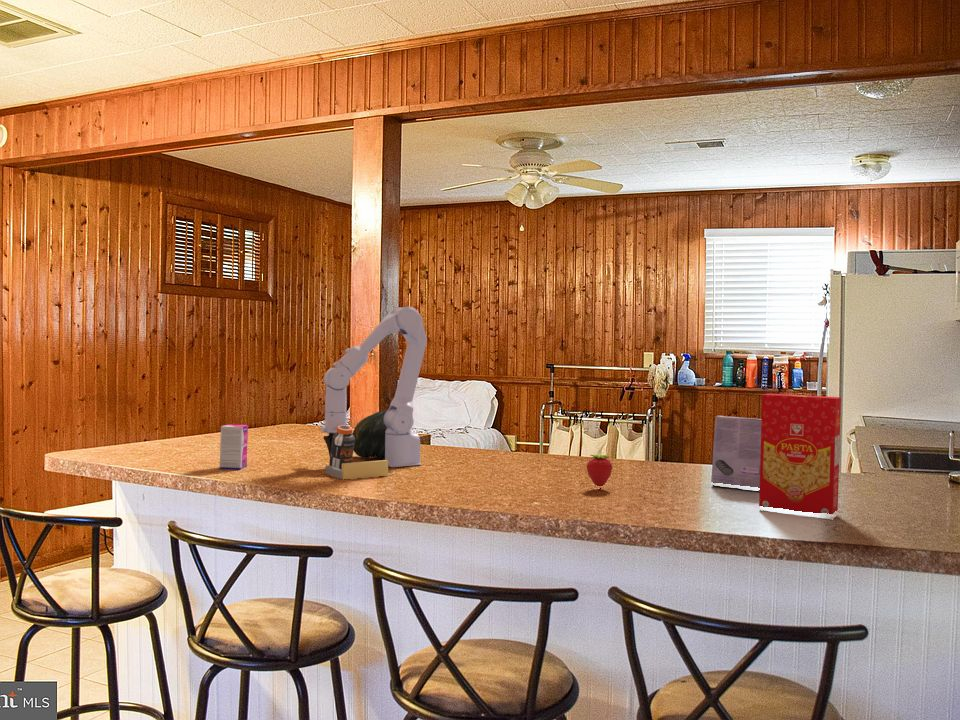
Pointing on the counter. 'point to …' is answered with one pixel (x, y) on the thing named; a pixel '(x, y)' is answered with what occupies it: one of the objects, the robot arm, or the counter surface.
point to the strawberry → (599, 469)
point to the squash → (370, 436)
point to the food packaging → (800, 452)
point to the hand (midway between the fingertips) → (334, 461)
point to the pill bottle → (342, 446)
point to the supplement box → (233, 447)
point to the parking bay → (359, 470)
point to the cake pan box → (737, 451)
